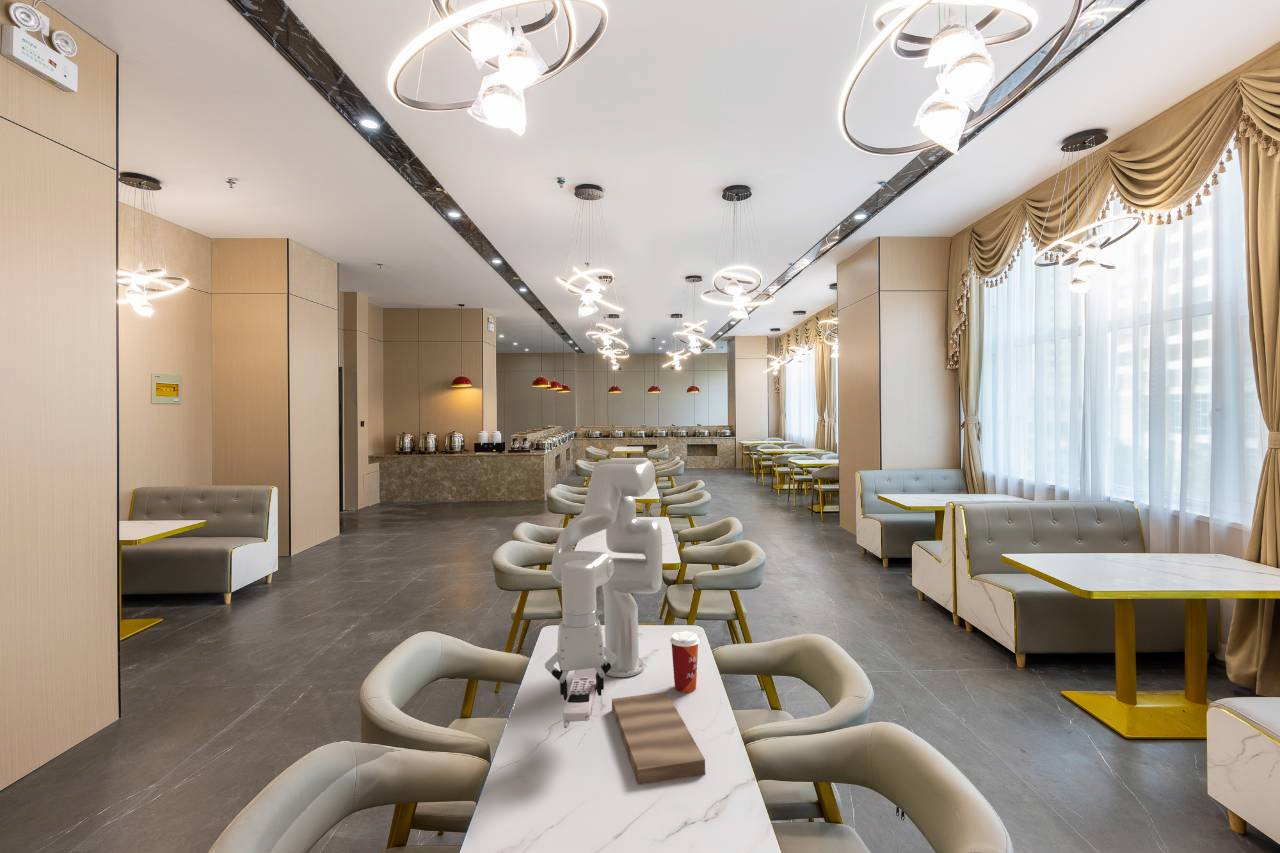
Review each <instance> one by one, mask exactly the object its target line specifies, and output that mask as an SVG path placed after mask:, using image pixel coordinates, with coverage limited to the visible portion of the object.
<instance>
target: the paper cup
mask: <svg viewBox="0 0 1280 853" xmlns="http://www.w3.org/2000/svg"><path fill="white" fill-rule="evenodd" d="M669 642H670V644H671V654H672V656H671V658H672V668H673V680H674V681H673V682H674V689H675V691H676V692H679V693H683V694H684V693H685V694H689V693H693V692H694V691H696V689H697V677H698V676H697V675H698V657H699V656H698V655H699V643H700V639H699V637H698V634H697V633H695V632H692V631H687V630H686V631H676V632H674V633H673V634H672V635H671V638H670V641H669Z"/></svg>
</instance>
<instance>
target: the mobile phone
mask: <svg viewBox="0 0 1280 853" xmlns="http://www.w3.org/2000/svg"><path fill="white" fill-rule="evenodd" d="M596 674H597V671H596V669H595V668H590V669H582V670H574V673H573V678H572V682H571V685H570V686H569V691H568V692H567V694H568V696H567V699H566V700H565V704H564V707H563V713H562V718H563V728H564V729H567V728H568V727H569V724H570V722H588V721H589V720H590V717H591V716H592V715H593V705H594V702H595V698H596V693H597V690H596Z"/></svg>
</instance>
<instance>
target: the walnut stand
mask: <svg viewBox="0 0 1280 853" xmlns="http://www.w3.org/2000/svg"><path fill="white" fill-rule="evenodd" d="M611 712H612V714H613V717H614V720H615V722H616V726H617V729H618V731H619V734H620V738H621V740H622V742H623V745H624V749H625V752H626V754H627V755H626V756H627V757H628V760H629V763H630V766H631V768H632V772H633V774H634V777H635V780H636V783H637V785H645V784H650V783H657V782H663V781H669V780H676V779H683V778H689V777H696V776H702V774H703V775H706V759H705V757H704V755H703V753H702V752H701V750H700V748H699V747H698V745H697V743H696V741H695V739H694V737H693V736H692V734H691V732H690V731H689V729H688V727H687V725H686V724H685V722H684V720H683V719H682V716H681V715H680V713H679V711H678V710H677V707H676V706H675V704H674V703H673V701H672V699H671V697H670V695H669V693H668V692H667V691H663V692H656V693H649V694H647V693H646V694H638V695H631V696H622V697H615V698H611Z"/></svg>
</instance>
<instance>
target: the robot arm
mask: <svg viewBox="0 0 1280 853" xmlns="http://www.w3.org/2000/svg"><path fill="white" fill-rule="evenodd" d="M590 476H591V477H590V481H589V484H588V489H587V492H586V497H585V501H584V506H583V511H582V512H581V513H580V514H578V515H577V516H576V517H574V519H573V518H572V520H571V521H570V522H569V523H568V524H567V525H566V526H565V527H564V528H563V530H562V531H561V532H560V534H559V536H558V538H557V540H556V543H555V548H554V552H553V555H552V560H551V567H550V568H551V575H552V578H553V579H554V580H555V581H556V582H557V583H561V604H562V609H561V611H562V612H561V613H562V621H561V622H559V624H558V628H557V629H558V630H557V642H556V643H557V646H556V647H557V649H556V650H557V651H556V652H555V653H554V654H553V655H551V657H550V658H549V659H548V660H547V661H546V662H545V663H544V668H545V670H547V671H548V673H550V674H551V675H552V676H553V678H555V680H557V681H558V682H559V692H560V693H559V694H560V696H563V700H564V701H566V699H567V696H568V680H567V677H568V675H569V673H570V672H572V671H574V670H582V669H590V668H595V669H596V671H597V674H596V693H597V696H598V697H600V696H602V690H603V691H604V690H605V687H604V686H605V684H604V683H605V680H604V678H605V677H606V676H609V677H612V678H613V677H614V678H629V677H633V676H637V675H639V674H640V673H641V672H643V671H644V669H645V662H644V660H642V659H641V657H639V608H638V604H637V602H636V600H635V598H634V597H633V595H632V594H644V595H646V594H647V595H651V594H656V593H658V592H659V591H661V588H662V584H663V535H662V529H661V526H660V524H659V523H658V522H656V521H655V520H651V519H637V503H636V500H635V498H636V497H637V498H638V497H643V496H645V495H646V494H647V493H648V492H649V491H650V490H651V489H652V488H653V486H654V484H655V480H656V468H655V465H654V462H652V461H651V460H650V459H636V458H635V459H630V458H629V459H628V458H627V459H624V458H610V459H609V458H608V459H601V460H599V461H597V462H595V463H594V465H593V471H592V473H591V475H590ZM634 497H635V498H634ZM604 530H605V537H606V538H605V540H606V542H605V543H606V546H607V549H608V550H609V551H610V552H612V553H617V554H629V555H630V554H631V555H632V554H635V555H643V556H644V557H645V558H633V557H613V558H612V556H611V555H610V554H608V553H606V552H603V551H588V550H572V549H573V548H574V546H575V545H576V544H577V543H579V542H580V541H582V540H583V539H585V538H586V537H589V536H591V535H595V534H596V533H598V532H602V531H604ZM599 587H602V592H603V593H602V594H603V603H604V604H603V606H604V609H598V607H597V588H599ZM602 616H604V636H603V632H602V625H601V621H600V619H599V618H600V617H602ZM603 637H604V638H603ZM556 663H558V665H559V666H558V667H559V669H557V668H556V667H555V666H554V665H555V664H556Z"/></svg>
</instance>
